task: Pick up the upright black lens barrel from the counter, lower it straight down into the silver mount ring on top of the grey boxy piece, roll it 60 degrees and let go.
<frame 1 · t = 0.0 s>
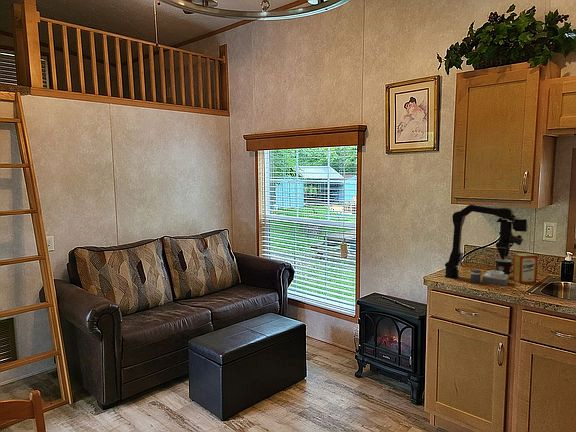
hand: (504, 258, 230), 15 cm above the counter, tool pointing down, fingers open, 9 cm apart
baking soda box: (524, 282, 235), on the counter
coffee mug: (504, 277, 246), on the counter
lens: (475, 282, 234), on the counter
grey boxy piece: (495, 282, 234), on the counter
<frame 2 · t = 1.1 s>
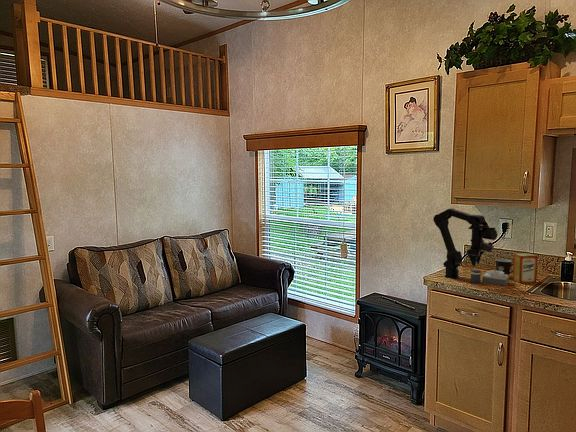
hand: (476, 264, 234), 10 cm above the counter, tool pointing down, fingers open, 9 cm apart
nothing on the counter moved.
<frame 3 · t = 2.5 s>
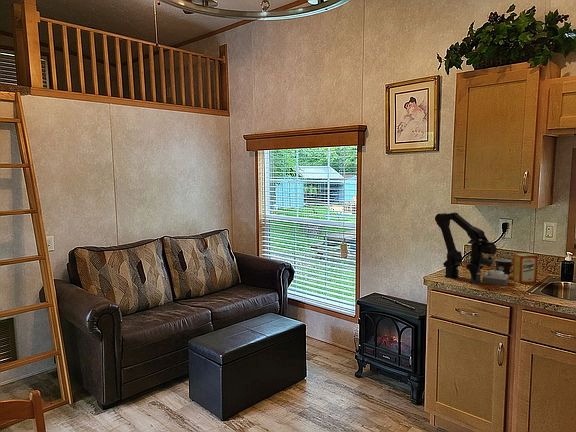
hand: (475, 279, 234), 2 cm above the counter, tool pointing down, fingers closed on lens, 5 cm apart
lens: (475, 282, 234), on the counter, touching gripper
everything else where it was.
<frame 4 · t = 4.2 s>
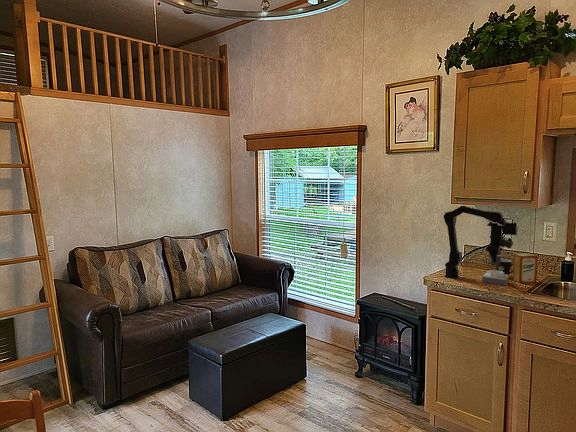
hand: (495, 261, 233), 12 cm above the counter, tool pointing down, fingers closed on lens, 5 cm apart
lens: (495, 264, 233), point 10 cm above the counter, touching gripper
everything else where it was.
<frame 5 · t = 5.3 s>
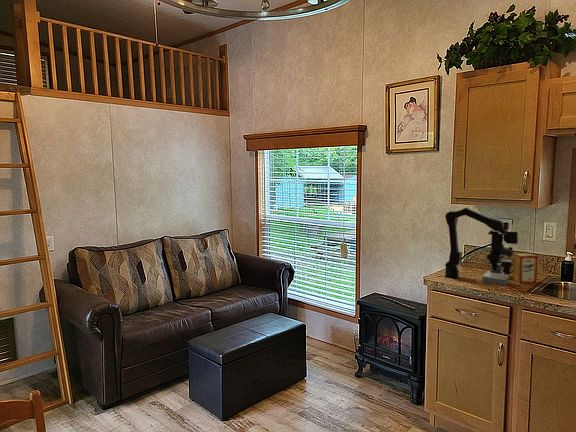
hand: (495, 269, 234), 7 cm above the counter, tool pointing down, fingers closed on lens, 5 cm apart
lens: (495, 273, 234), point 5 cm above the counter, touching gripper
everything else where it was.
when the fingers open (7 cm above the counter, at t = 6.2 s): lens stays where it is, resting on grey boxy piece.
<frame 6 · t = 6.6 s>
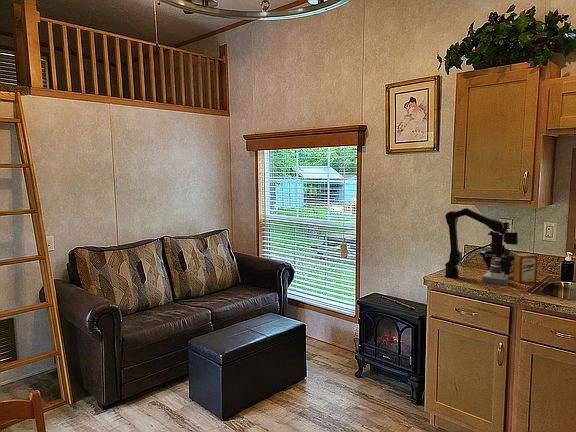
hand: (495, 270, 234), 7 cm above the counter, tool pointing down, fingers open, 9 cm apart
lens: (495, 275, 234), point 4 cm above the counter, touching grey boxy piece
everything else where it was.
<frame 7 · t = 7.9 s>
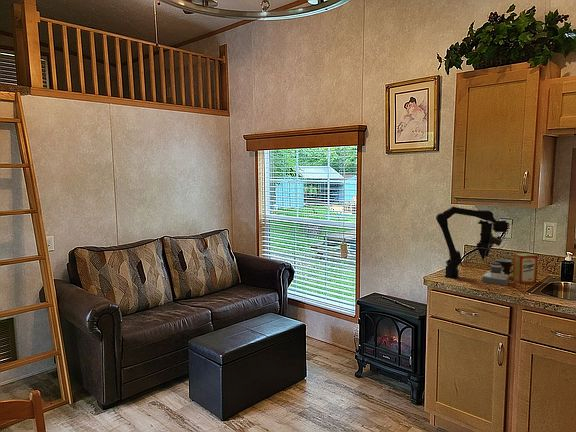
hand: (484, 257, 243), 12 cm above the counter, tool pointing down, fingers open, 9 cm apart
nothing on the counter moved.
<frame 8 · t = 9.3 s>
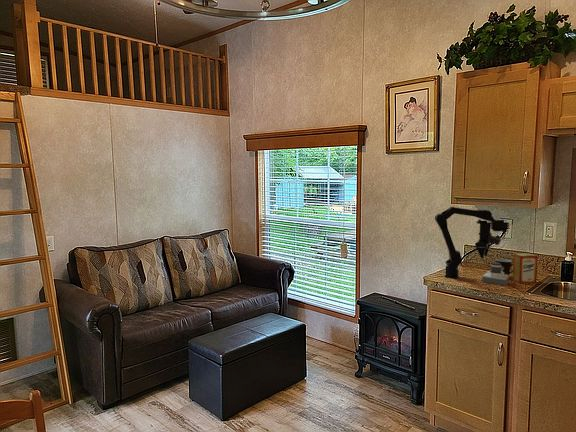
hand: (484, 257, 244), 13 cm above the counter, tool pointing down, fingers open, 9 cm apart
nothing on the counter moved.
at the end: lens 0.1 cm off-centre on the grey boxy piece, point 4.0 cm above the grey boxy piece's base; lens tilted 0°; the gripper is holding nothing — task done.
